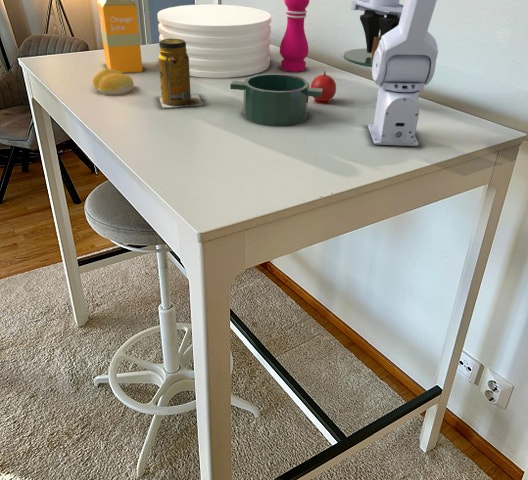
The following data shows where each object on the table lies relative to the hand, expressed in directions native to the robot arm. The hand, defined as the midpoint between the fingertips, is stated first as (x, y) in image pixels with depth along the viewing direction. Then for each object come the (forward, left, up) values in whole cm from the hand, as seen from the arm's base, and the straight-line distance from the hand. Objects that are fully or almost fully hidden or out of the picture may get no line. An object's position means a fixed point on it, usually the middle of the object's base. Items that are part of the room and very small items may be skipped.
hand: (377, 53), depth 112 cm
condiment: (-4, +40, -10) cm, 42 cm away
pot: (-10, +20, -10) cm, 25 cm away
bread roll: (+3, +56, -10) cm, 57 cm away
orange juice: (+21, +58, -10) cm, 63 cm away
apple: (0, +10, -10) cm, 14 cm away
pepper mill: (+26, +16, -10) cm, 32 cm away
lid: (0, 0, -1) cm, 1 cm away
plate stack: (+29, +36, -10) cm, 48 cm away
